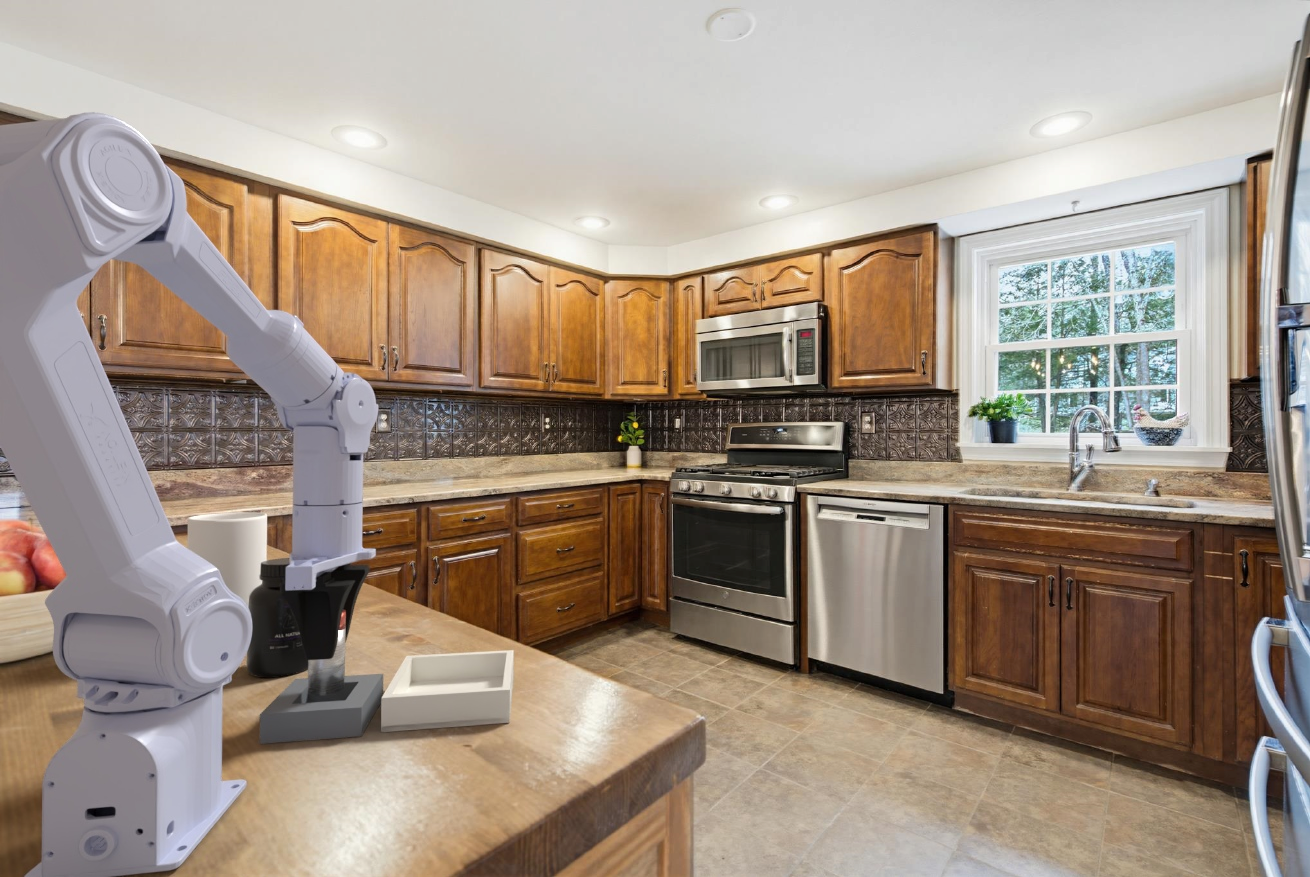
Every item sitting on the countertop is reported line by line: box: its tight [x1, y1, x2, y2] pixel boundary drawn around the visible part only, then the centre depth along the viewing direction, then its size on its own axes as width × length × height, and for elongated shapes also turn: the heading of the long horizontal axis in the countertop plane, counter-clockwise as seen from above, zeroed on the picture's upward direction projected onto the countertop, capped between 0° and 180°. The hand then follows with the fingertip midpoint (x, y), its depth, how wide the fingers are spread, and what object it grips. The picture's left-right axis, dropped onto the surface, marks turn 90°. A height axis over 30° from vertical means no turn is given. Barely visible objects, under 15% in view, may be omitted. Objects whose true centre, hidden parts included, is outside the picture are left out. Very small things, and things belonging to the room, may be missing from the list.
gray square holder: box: [259, 673, 384, 745], centre depth 58 cm, size 8×8×2 cm
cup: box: [186, 511, 268, 607], centre depth 79 cm, size 8×8×16 cm
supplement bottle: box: [246, 557, 308, 678], centre depth 71 cm, size 7×7×12 cm
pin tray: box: [380, 649, 515, 733], centre depth 62 cm, size 11×11×3 cm
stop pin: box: [307, 609, 346, 696], centre depth 58 cm, size 3×3×7 cm
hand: (326, 651), depth 58 cm, fingers closed on stop pin, 3 cm apart
